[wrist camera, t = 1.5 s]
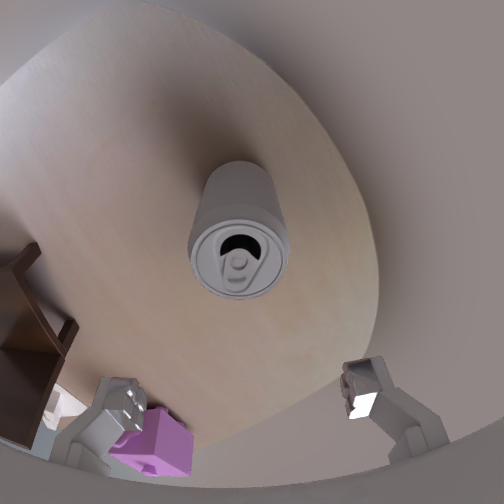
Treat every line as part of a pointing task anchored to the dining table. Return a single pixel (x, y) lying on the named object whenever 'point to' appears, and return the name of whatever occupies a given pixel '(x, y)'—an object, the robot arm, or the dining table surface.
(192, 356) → the dining table surface
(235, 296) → the beverage can
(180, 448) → the teapot
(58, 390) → the napkin holder
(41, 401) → the wooden doll chair
